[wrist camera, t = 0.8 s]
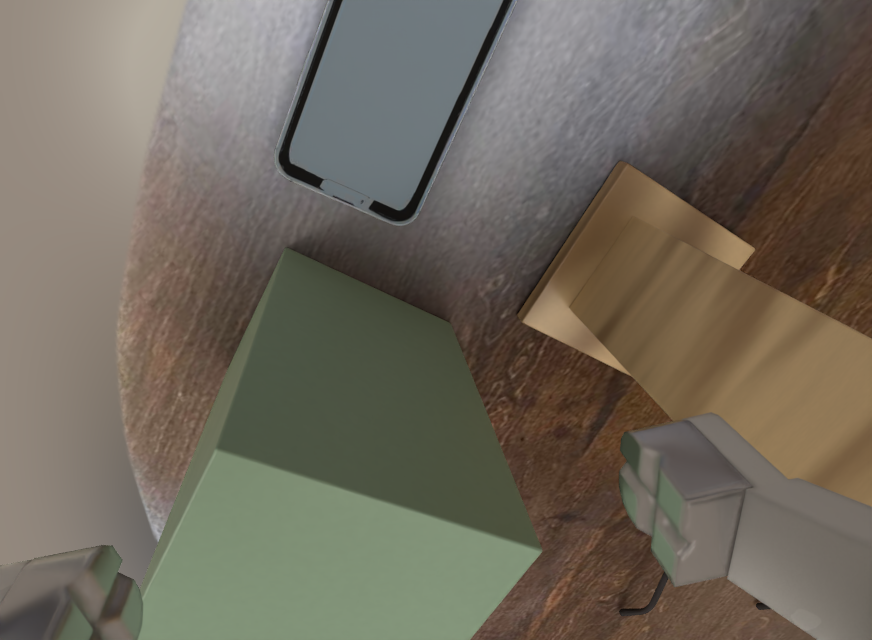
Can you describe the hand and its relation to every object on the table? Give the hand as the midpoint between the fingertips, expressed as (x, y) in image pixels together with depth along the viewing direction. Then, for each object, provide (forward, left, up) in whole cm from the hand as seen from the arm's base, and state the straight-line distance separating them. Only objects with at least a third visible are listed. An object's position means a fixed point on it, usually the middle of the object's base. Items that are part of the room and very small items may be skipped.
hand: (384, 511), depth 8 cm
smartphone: (-7, +3, -20) cm, 22 cm away
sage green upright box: (+8, -1, -20) cm, 22 cm away
